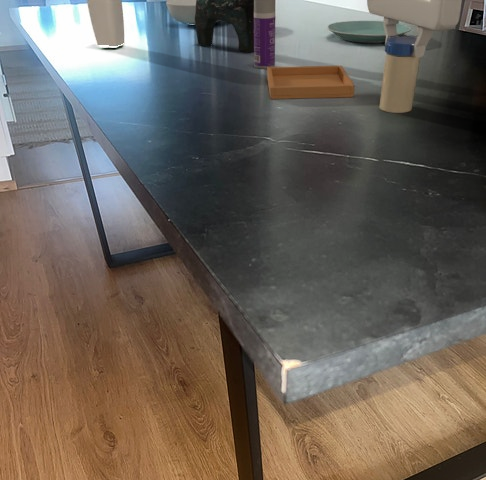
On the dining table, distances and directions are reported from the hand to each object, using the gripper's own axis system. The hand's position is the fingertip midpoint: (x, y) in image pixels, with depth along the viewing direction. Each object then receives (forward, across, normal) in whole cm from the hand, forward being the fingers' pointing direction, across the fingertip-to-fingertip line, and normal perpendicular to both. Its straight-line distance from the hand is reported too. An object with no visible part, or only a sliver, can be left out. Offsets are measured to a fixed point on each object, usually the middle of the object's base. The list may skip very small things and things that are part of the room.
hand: (403, 51), depth 87 cm
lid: (-1, 0, 0) cm, 1 cm away
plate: (+9, +56, -28) cm, 63 cm away
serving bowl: (+10, +99, +6) cm, 100 cm away
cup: (+10, +76, +38) cm, 85 cm away
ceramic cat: (+10, +60, +11) cm, 62 cm away
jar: (+9, 0, 0) cm, 9 cm away
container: (+10, +38, +9) cm, 41 cm away
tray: (+9, +19, +8) cm, 22 cm away
